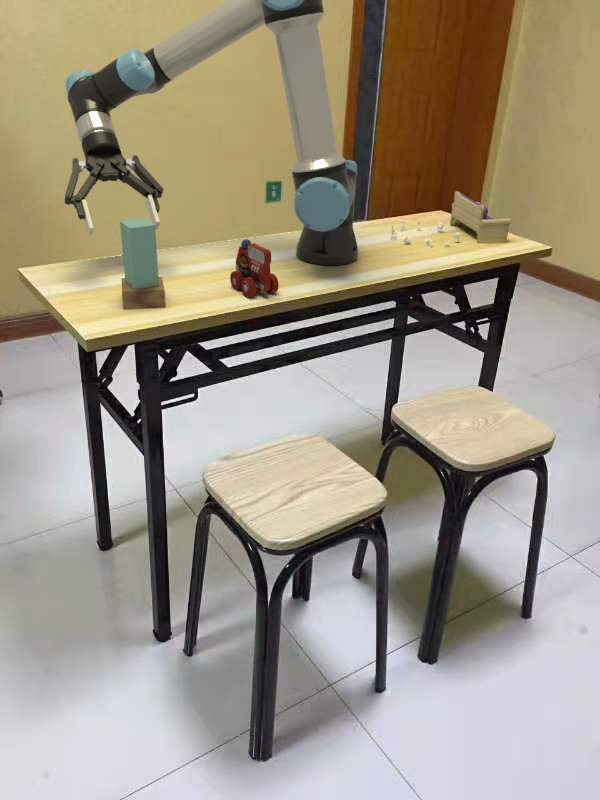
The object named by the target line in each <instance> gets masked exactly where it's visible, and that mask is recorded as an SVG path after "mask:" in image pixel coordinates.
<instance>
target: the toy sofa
mask: <svg viewBox="0 0 600 800" xmlns="http://www.w3.org/2000/svg"><path fill="white" fill-rule="evenodd" d="M488 213H489V208H488V207H487V205H484V204H481V203H480V201H475V200H472V199H471V198H469V197H468V196H466V195H465V194H464V193H462V192H460V191H459V190H458V191H455V192H454V197H453V202H452V204H451V213H450V221H449V226H467V227H468V228H469V229H471V230H473V231H474V232H475V233H476V237H477V242H476V243H477V244H506V243H507V241H508V235H509V229H510V224H511V223H512V218H510V217H509V218H493V217H491V216H489V215H488Z"/></svg>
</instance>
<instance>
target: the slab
mask: <svg viewBox="0 0 600 800" xmlns="http://www.w3.org/2000/svg"><path fill="white" fill-rule="evenodd" d="M120 279H121V295H122V308H123V310H126V311H127V310H142V309H143V310H144V309H145V310H146V309H147V310H148V309H164V308H166V293H165V292H166V291H165V285H164V281H163V277H162V276H158V279H159V285H158V286H152V287H146V288H141V289H135V290H134V289H133V288H132V287H131V286H130V285H129V284H128V283H127V282H126V281H125V277H122V278H120Z"/></svg>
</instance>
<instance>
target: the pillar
mask: <svg viewBox="0 0 600 800" xmlns="http://www.w3.org/2000/svg"><path fill="white" fill-rule="evenodd" d="M119 224H120V227H119V228H120V238H121V245H122V246H121V248H122V259H123V269H124V271H123V272H124V278H125V281H126V282H127V283H128V284H129V285H130V286H131V287H132V288H133V289H134V290H135V289H141V288H146V287H152V286H158V285H159V279H158V277H159V265H158V264H159V263H158V250H157V249H158V248H157V236H156V235H157V234H156V231H157V229H155V225H154V224H153V223H152V221H150V220H149V219H148V218H147V217H141V218H132V219H124V220H120V221H119Z"/></svg>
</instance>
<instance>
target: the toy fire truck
mask: <svg viewBox="0 0 600 800" xmlns="http://www.w3.org/2000/svg"><path fill="white" fill-rule="evenodd" d="M271 264H272V252H271V250H270V249H268V248H266V247H263V246H261V245H259V244H257V243H253V242H251V240H249V239H243V240H242V241H241V244H240V246H239V247H238V251H237V255H236V259H235V270H234V271H231V273H230V285H231V286H232V288H233V290H235V291H240V290H241V291H242V295H244V297H246V298H253V297H255V296H256V293H257V292H266V293H267V294H275V293H277V291H278V289H279V287H280V286H279V280H278V277H277V275H276V274H275V273H273V272H271Z"/></svg>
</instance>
